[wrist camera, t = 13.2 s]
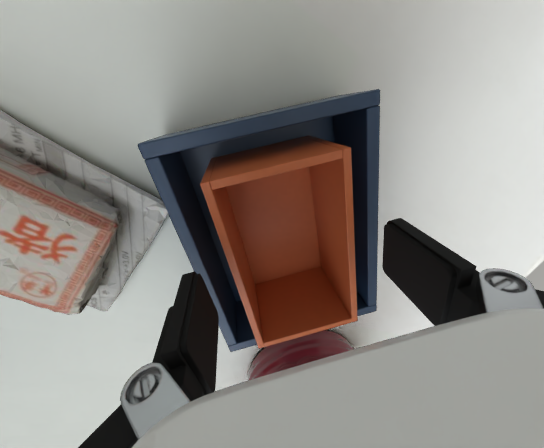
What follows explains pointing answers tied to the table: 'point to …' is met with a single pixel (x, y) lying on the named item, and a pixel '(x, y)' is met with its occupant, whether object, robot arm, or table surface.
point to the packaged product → (67, 224)
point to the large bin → (251, 134)
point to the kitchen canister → (298, 352)
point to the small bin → (287, 234)
